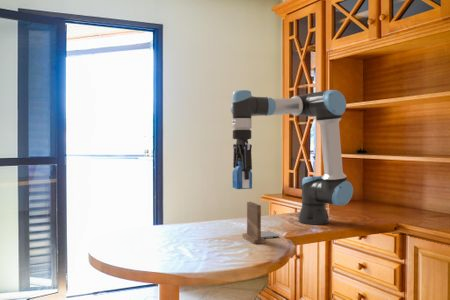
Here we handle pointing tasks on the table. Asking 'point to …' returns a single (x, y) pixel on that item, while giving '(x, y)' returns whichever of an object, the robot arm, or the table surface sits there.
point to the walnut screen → (253, 224)
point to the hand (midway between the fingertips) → (242, 186)
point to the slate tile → (268, 234)
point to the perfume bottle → (240, 176)
